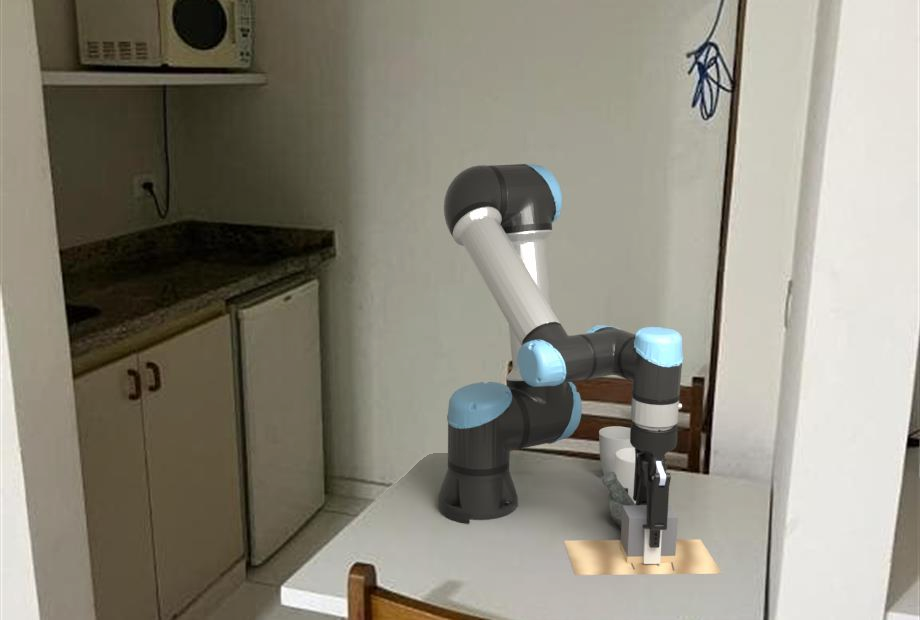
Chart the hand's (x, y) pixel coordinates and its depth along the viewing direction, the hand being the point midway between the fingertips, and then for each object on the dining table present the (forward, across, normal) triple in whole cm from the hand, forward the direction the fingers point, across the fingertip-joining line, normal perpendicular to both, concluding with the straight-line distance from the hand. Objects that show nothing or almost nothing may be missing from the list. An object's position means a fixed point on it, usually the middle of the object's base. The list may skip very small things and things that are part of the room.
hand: (647, 554), depth 155 cm
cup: (+2, +35, -3) cm, 35 cm away
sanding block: (0, 0, 0) cm, 0 cm away
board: (+1, 0, +1) cm, 2 cm away
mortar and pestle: (+1, +10, 0) cm, 10 cm away
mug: (+2, +20, -2) cm, 20 cm away
